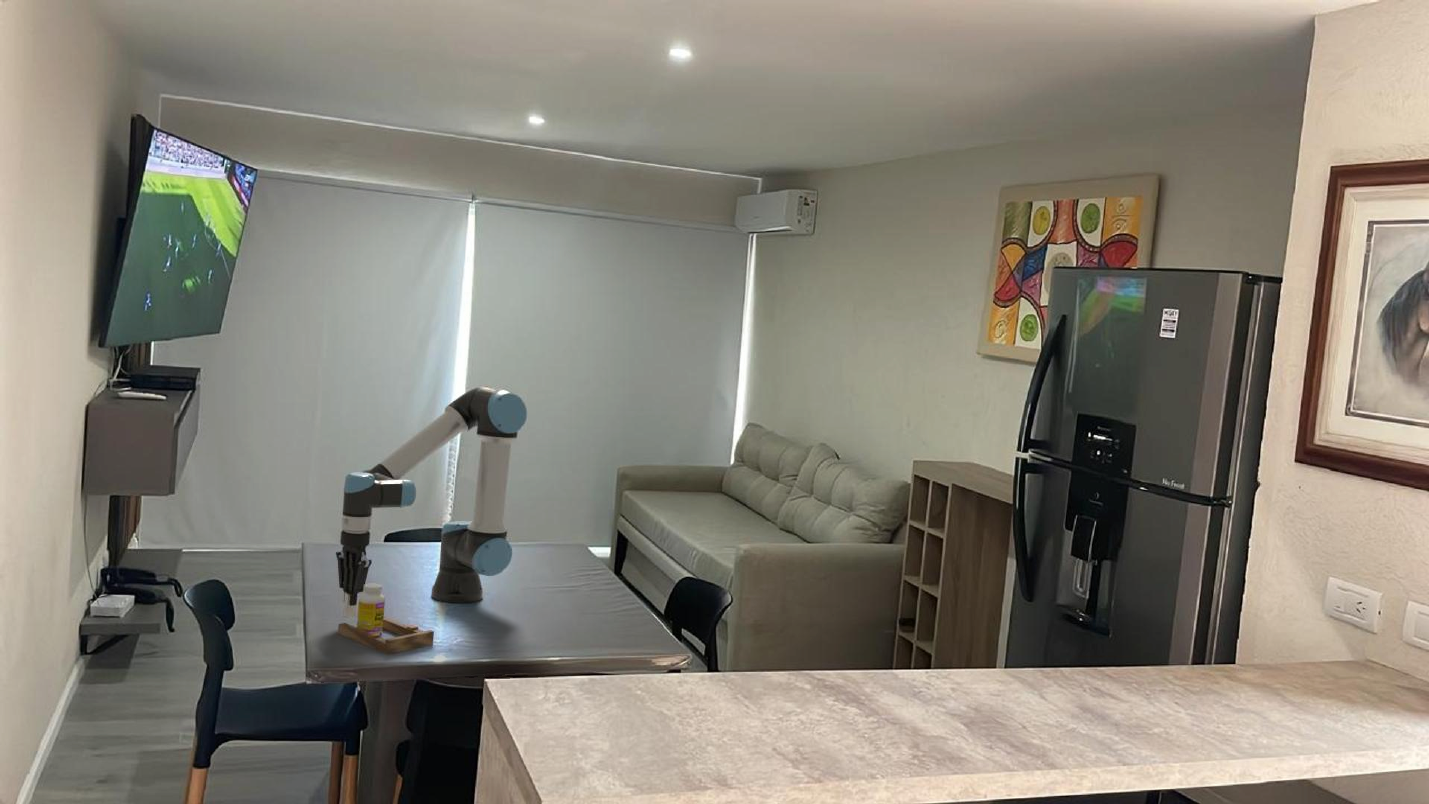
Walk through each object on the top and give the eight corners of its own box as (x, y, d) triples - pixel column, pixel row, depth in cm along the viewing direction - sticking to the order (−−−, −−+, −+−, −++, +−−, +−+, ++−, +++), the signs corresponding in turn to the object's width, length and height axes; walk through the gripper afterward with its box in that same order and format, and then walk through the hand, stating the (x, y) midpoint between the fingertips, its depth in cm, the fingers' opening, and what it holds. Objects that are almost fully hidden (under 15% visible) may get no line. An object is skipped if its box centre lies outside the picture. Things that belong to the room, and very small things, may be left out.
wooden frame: (382, 624, 310) (383, 612, 310) (433, 644, 297) (434, 631, 297) (337, 633, 298) (338, 620, 298) (387, 654, 286) (388, 641, 285)
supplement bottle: (374, 637, 298) (378, 590, 297) (351, 634, 299) (354, 586, 298) (387, 631, 304) (390, 584, 303) (364, 627, 306) (367, 580, 305)
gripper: (329, 527, 306) (322, 612, 308) (358, 536, 298) (351, 624, 300) (353, 524, 312) (346, 608, 314) (382, 533, 304) (375, 619, 306)
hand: (349, 616), depth 307 cm, fingers closed
